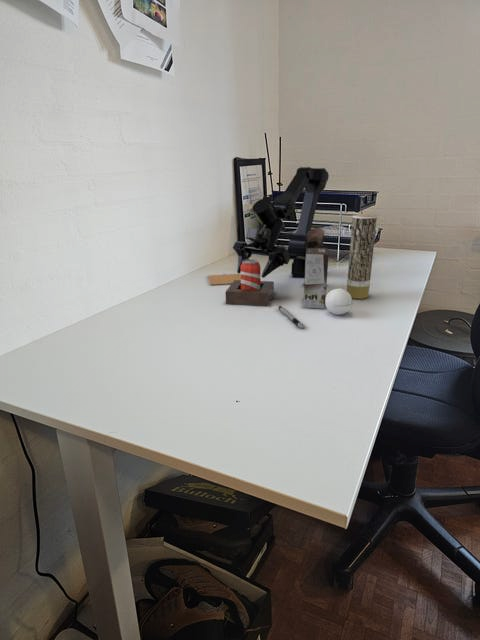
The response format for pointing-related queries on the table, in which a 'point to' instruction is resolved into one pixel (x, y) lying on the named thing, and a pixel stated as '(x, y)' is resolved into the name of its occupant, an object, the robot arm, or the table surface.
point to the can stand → (250, 294)
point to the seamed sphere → (338, 301)
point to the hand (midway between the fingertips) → (250, 274)
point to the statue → (315, 239)
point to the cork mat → (223, 279)
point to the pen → (291, 317)
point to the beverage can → (250, 274)
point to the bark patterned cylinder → (361, 255)
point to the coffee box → (315, 277)
